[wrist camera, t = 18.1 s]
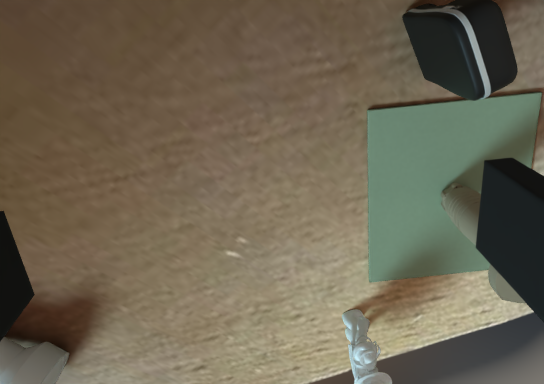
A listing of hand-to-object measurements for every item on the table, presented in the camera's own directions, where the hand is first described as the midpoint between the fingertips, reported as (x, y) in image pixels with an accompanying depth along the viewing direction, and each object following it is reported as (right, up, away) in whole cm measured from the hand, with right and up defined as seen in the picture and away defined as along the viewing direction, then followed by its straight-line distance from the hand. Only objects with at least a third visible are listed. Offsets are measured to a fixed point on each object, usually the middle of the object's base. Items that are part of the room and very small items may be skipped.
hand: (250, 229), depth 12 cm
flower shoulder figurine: (+10, -15, +42) cm, 45 cm away
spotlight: (-29, -17, +41) cm, 53 cm away
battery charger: (+15, +15, +29) cm, 36 cm away
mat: (+19, +1, +35) cm, 40 cm away
